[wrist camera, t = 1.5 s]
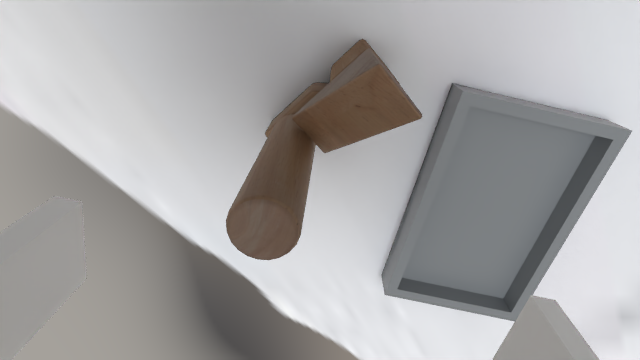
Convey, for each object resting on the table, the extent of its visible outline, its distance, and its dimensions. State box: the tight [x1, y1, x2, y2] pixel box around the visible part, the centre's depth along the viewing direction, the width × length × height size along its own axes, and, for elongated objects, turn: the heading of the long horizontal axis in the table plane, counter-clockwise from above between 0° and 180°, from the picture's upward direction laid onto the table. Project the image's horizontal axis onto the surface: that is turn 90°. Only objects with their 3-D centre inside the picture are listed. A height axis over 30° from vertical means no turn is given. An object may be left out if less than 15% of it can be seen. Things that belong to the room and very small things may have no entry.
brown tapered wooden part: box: [226, 39, 422, 260], centre depth 25 cm, size 4×11×18 cm, turn 132°
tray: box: [382, 83, 632, 321], centre depth 35 cm, size 21×14×3 cm, turn 167°
